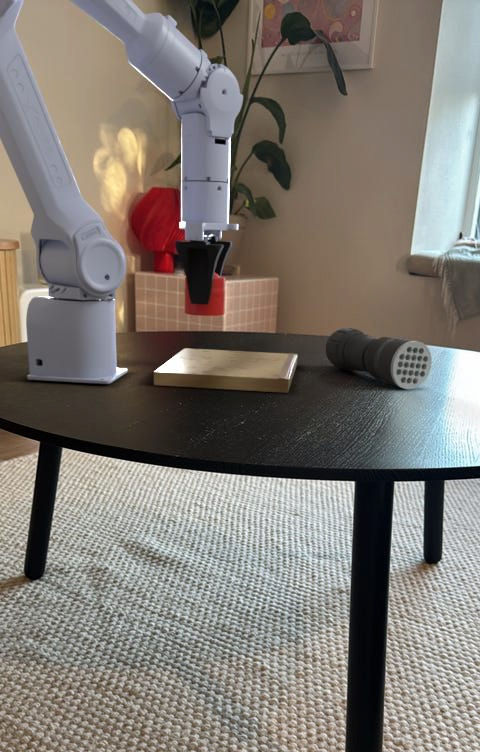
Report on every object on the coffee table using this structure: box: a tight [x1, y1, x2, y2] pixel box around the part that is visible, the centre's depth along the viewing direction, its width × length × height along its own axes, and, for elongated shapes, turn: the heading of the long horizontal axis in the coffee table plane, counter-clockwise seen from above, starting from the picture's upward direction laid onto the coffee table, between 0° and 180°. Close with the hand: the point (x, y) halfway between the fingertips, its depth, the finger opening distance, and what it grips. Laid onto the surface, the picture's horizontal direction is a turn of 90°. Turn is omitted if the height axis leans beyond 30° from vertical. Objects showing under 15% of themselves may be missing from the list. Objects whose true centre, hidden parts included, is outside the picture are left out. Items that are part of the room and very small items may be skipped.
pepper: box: [183, 273, 226, 317], centre depth 93 cm, size 5×5×6 cm
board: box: [153, 347, 298, 394], centre depth 91 cm, size 15×18×2 cm
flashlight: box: [325, 327, 433, 390], centre depth 92 cm, size 15×5×5 cm, turn 26°
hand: (203, 302), depth 94 cm, fingers closed on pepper, 5 cm apart
